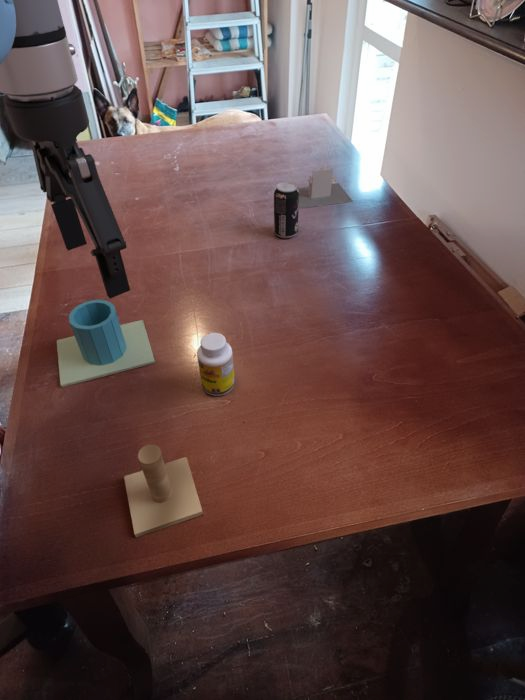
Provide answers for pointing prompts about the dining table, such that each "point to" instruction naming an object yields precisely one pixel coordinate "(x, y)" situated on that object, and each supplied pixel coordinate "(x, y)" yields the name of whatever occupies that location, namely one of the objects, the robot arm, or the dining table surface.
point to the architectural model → (322, 190)
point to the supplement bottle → (216, 364)
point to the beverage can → (286, 210)
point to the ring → (98, 332)
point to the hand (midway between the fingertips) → (96, 268)
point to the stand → (160, 492)
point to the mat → (80, 370)
